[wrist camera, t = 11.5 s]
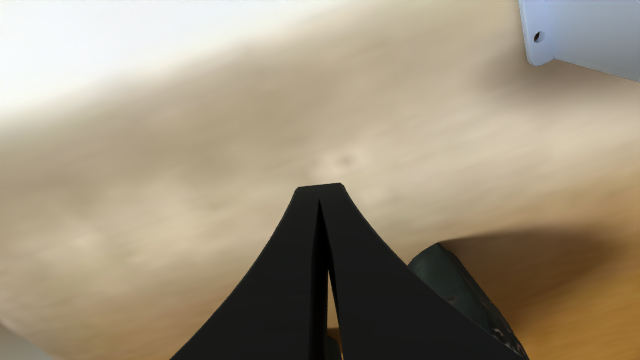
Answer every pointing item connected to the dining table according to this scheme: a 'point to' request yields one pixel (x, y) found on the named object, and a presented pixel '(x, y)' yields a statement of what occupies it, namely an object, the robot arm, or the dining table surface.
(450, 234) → the dining table surface
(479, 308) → the green wooden horse
